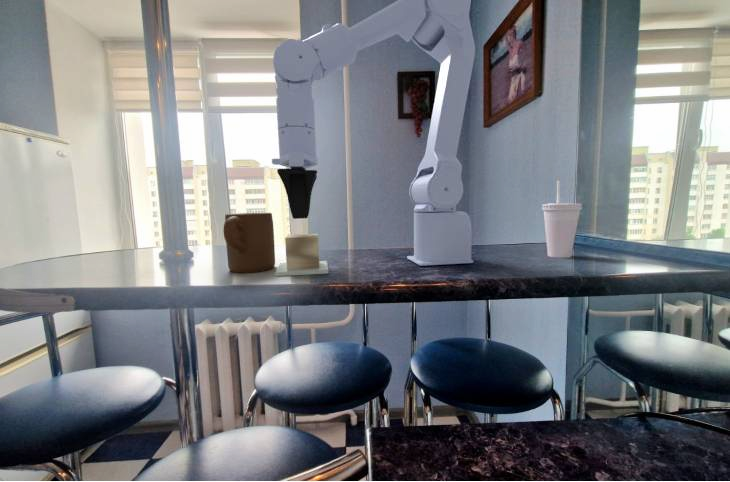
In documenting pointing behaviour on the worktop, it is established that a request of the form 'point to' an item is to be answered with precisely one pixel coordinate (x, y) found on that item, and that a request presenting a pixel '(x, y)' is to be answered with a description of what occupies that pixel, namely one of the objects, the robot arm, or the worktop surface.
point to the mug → (249, 242)
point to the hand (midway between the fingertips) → (301, 217)
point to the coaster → (302, 270)
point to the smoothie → (560, 226)
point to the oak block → (302, 251)
